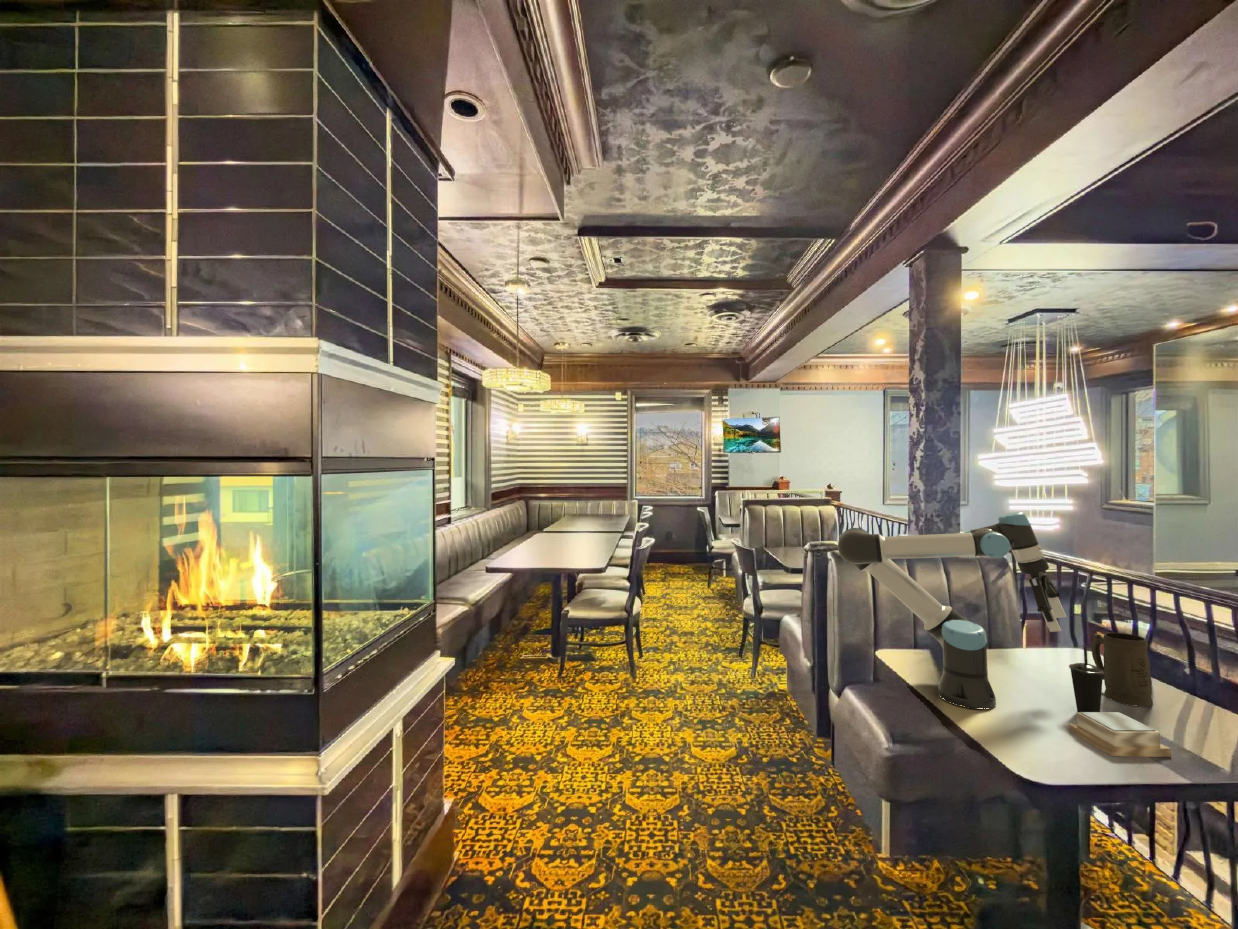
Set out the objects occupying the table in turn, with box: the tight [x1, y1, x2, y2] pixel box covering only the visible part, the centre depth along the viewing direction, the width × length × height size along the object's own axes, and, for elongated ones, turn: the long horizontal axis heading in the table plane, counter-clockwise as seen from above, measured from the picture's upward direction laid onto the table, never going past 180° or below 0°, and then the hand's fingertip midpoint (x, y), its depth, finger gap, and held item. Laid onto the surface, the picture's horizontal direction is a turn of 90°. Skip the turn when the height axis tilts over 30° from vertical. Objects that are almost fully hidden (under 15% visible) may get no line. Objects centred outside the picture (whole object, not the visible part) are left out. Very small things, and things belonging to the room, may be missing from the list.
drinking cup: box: [1068, 645, 1104, 714], centre depth 150 cm, size 8×8×20 cm
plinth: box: [1068, 711, 1172, 758], centre depth 134 cm, size 14×13×6 cm
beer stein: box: [1090, 632, 1154, 707], centre depth 162 cm, size 15×11×20 cm
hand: (1058, 624), depth 163 cm, fingers open, 13 cm apart
